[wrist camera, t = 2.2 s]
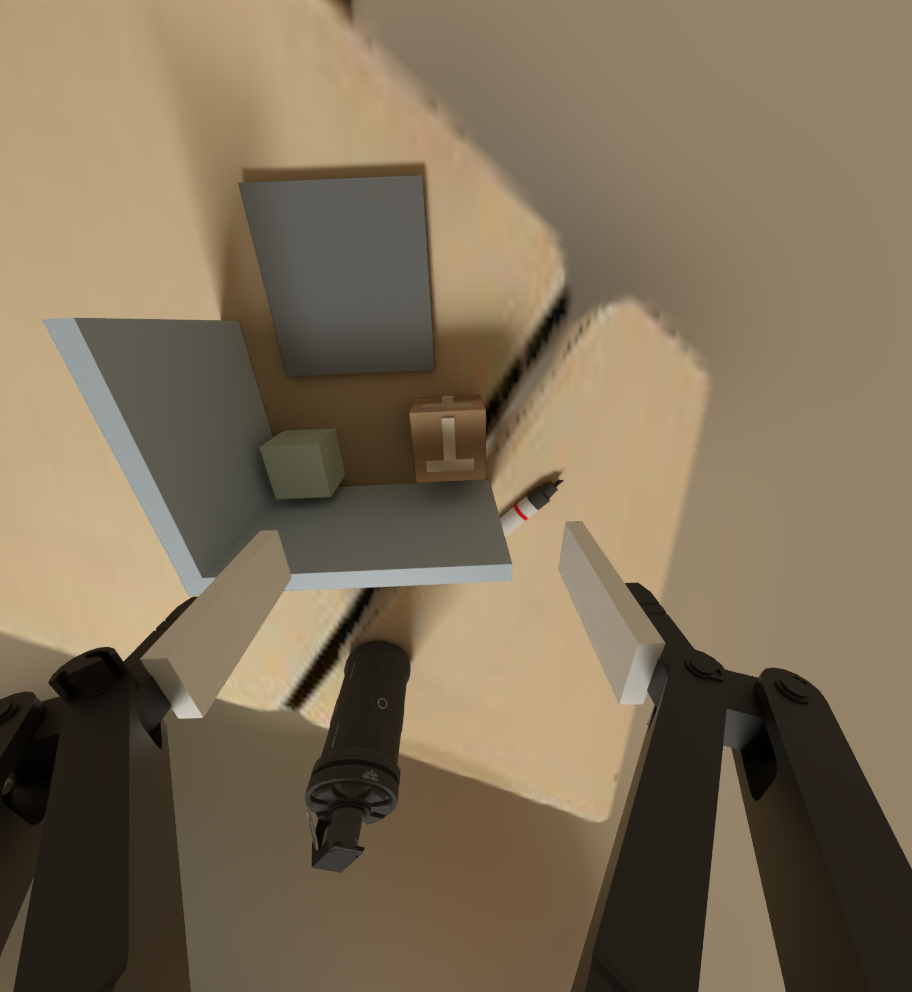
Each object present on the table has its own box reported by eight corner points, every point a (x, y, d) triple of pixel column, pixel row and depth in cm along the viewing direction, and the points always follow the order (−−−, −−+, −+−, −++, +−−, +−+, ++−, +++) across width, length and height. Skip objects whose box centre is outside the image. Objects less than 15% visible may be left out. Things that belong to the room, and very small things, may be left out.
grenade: (423, 651, 47) (409, 848, 30) (389, 693, 52) (358, 888, 34) (363, 628, 45) (309, 827, 27) (332, 674, 49) (267, 873, 31)
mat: (244, 187, 24) (238, 182, 24) (423, 179, 24) (422, 175, 24) (291, 375, 30) (287, 376, 30) (434, 369, 30) (434, 370, 30)
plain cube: (284, 430, 33) (259, 446, 28) (336, 427, 33) (318, 444, 28) (297, 477, 35) (275, 499, 31) (345, 474, 35) (331, 496, 31)
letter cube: (415, 395, 31) (408, 411, 26) (479, 392, 32) (486, 407, 26) (421, 458, 34) (416, 483, 29) (479, 455, 34) (486, 480, 29)
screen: (220, 321, 28) (40, 319, 16) (490, 309, 28) (524, 298, 16) (277, 502, 36) (188, 595, 24) (489, 492, 36) (511, 580, 24)
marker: (463, 563, 41) (464, 573, 39) (452, 553, 40) (452, 564, 38) (565, 480, 36) (571, 489, 34) (553, 469, 35) (559, 476, 34)
